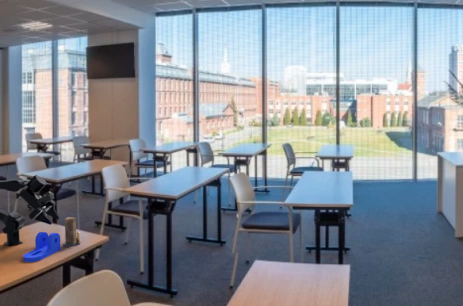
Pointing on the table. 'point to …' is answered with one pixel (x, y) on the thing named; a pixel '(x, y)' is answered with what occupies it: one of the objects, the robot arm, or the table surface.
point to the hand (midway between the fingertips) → (55, 221)
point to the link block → (70, 230)
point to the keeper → (75, 242)
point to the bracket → (43, 247)
